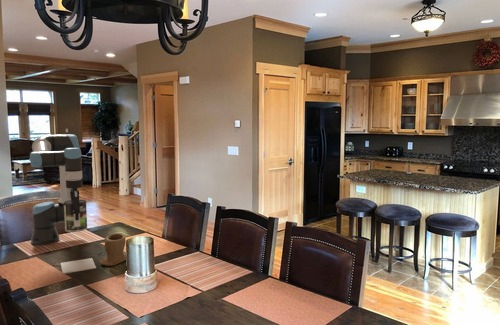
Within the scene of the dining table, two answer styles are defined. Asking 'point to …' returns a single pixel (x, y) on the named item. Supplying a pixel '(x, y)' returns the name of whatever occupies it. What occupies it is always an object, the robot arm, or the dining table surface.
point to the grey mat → (77, 265)
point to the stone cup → (114, 249)
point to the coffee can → (70, 217)
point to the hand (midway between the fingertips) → (76, 223)
